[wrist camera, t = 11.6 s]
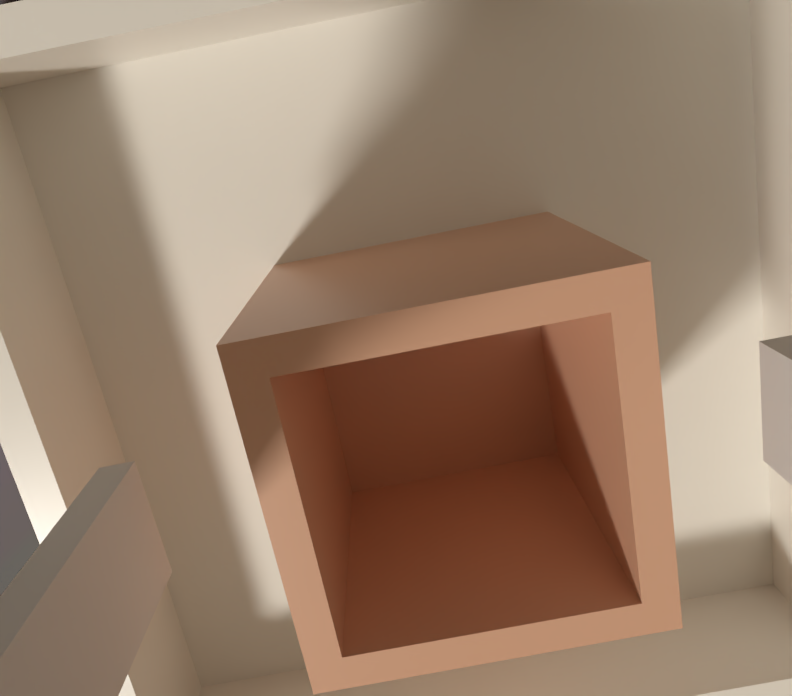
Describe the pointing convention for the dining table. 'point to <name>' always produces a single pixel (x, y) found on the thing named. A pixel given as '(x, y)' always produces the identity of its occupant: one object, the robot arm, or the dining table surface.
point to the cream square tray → (373, 225)
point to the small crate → (459, 448)
